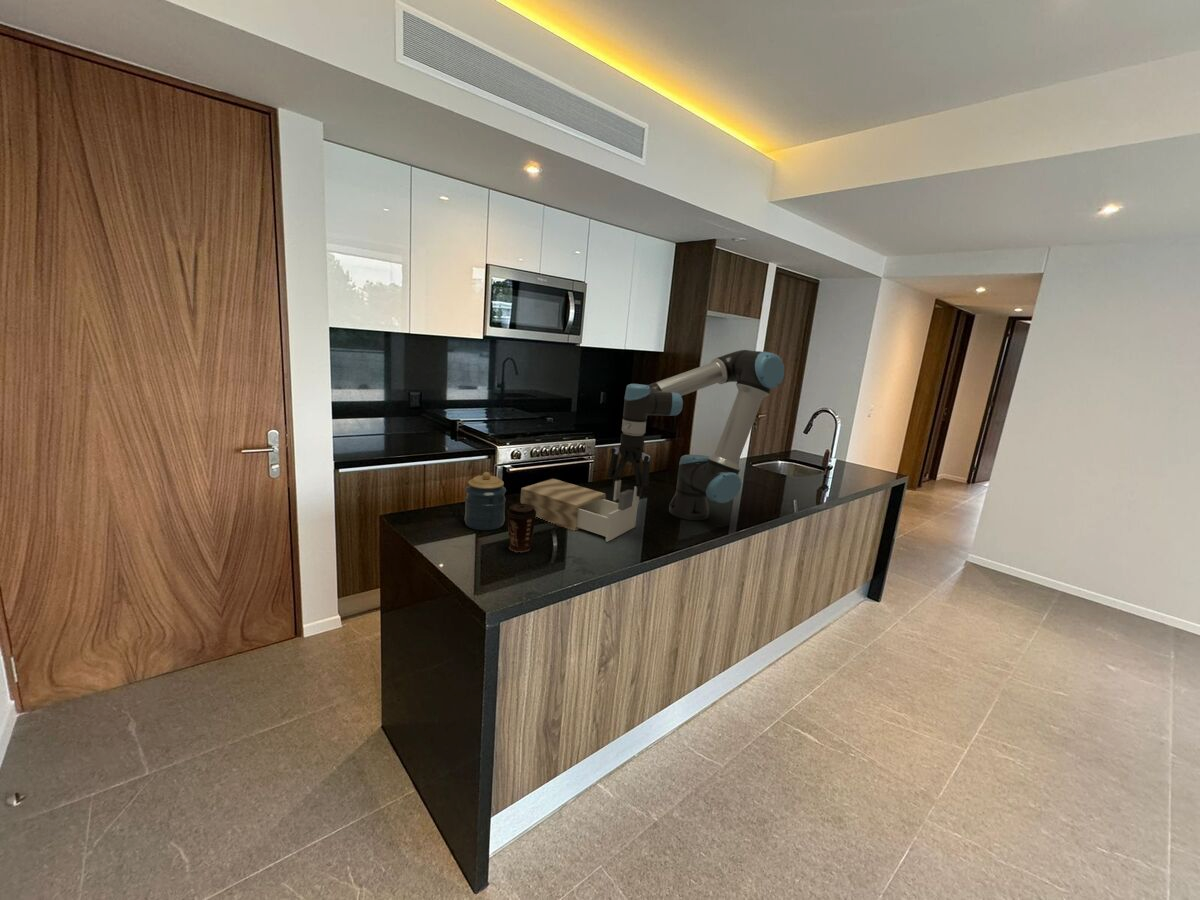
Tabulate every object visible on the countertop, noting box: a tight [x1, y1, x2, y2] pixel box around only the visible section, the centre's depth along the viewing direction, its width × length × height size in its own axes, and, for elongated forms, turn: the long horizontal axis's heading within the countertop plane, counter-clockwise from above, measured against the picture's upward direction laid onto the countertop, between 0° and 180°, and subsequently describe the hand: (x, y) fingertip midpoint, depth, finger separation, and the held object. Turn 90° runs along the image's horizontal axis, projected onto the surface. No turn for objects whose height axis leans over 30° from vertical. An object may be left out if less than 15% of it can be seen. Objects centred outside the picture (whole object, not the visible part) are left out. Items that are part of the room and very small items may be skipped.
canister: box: [464, 471, 507, 531], centre depth 163 cm, size 13×13×18 cm
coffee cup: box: [506, 502, 537, 553], centre depth 148 cm, size 9×8×13 cm
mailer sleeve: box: [519, 478, 607, 532], centre depth 178 cm, size 24×18×9 cm
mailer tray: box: [576, 489, 639, 543], centre depth 170 cm, size 25×18×15 cm
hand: (625, 502), depth 163 cm, fingers open, 7 cm apart
